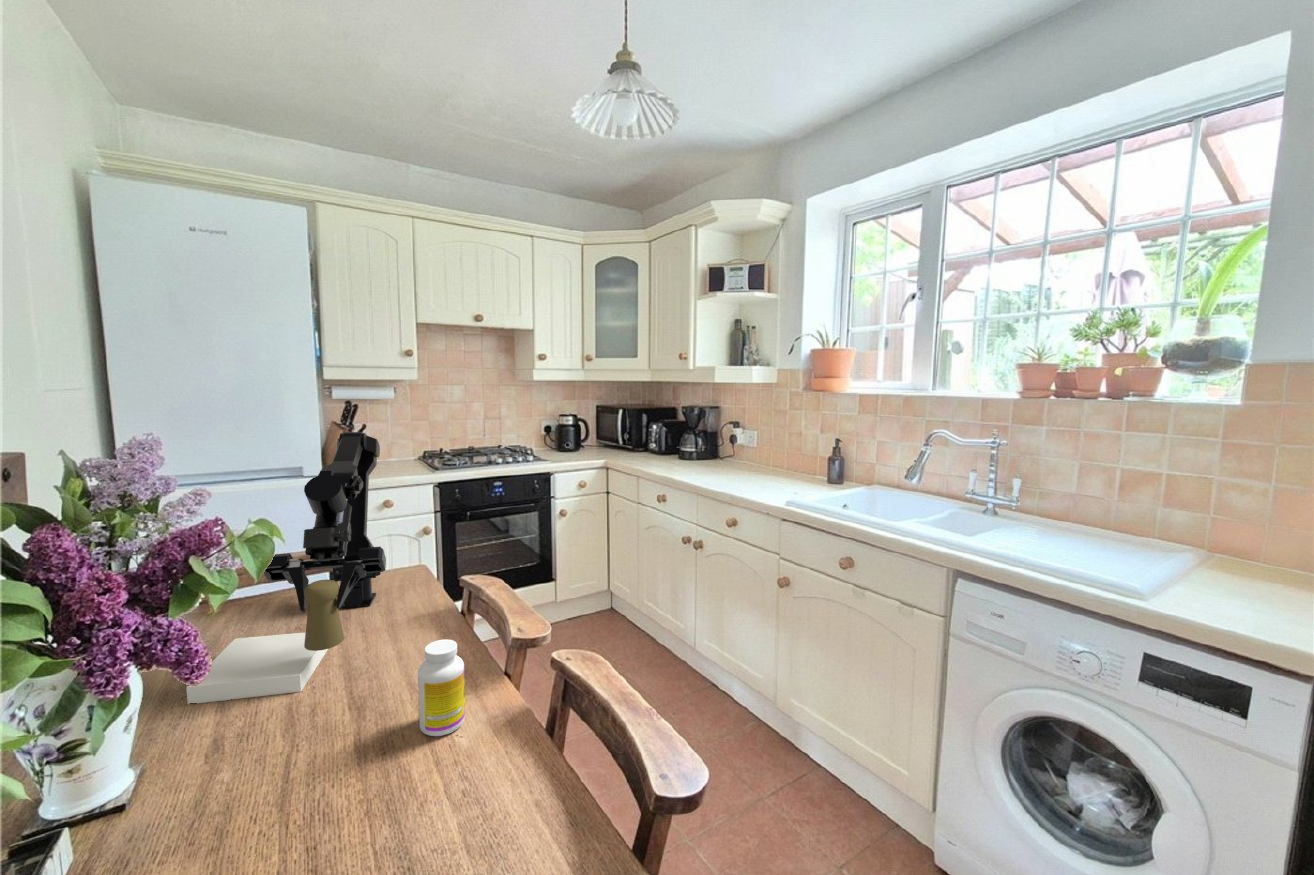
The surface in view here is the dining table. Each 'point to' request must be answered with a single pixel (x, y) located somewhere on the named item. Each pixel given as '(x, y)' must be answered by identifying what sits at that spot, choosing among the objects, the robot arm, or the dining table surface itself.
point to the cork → (322, 616)
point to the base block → (258, 669)
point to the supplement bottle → (441, 689)
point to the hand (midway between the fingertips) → (320, 609)
